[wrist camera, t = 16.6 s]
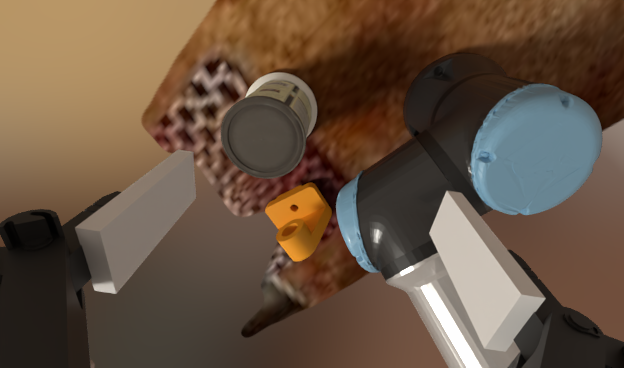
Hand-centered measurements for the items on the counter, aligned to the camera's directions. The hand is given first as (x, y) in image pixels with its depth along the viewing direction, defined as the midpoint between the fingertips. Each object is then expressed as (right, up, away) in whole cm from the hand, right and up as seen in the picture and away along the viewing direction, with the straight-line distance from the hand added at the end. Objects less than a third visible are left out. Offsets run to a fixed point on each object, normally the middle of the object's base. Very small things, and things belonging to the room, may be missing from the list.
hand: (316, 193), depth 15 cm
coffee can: (-5, +12, +32) cm, 35 cm away
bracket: (-3, -4, +42) cm, 42 cm away
